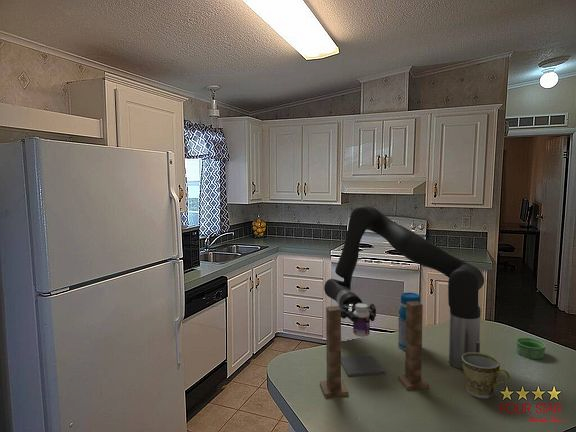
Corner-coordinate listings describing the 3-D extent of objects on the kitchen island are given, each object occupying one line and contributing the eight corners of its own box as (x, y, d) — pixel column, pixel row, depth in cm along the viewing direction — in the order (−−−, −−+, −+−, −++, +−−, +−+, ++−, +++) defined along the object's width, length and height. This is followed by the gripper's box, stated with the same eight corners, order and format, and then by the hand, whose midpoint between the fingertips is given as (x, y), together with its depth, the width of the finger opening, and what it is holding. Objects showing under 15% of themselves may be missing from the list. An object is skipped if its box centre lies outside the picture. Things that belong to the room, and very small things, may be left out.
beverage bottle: (398, 351, 141) (399, 297, 139) (397, 341, 149) (397, 290, 147) (423, 353, 139) (424, 299, 137) (420, 343, 147) (421, 292, 145)
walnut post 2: (418, 376, 123) (420, 299, 121) (429, 388, 116) (431, 306, 114) (397, 378, 122) (398, 300, 120) (407, 390, 115) (408, 307, 113)
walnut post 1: (342, 383, 120) (341, 303, 118) (348, 395, 113) (348, 311, 111) (319, 385, 119) (319, 305, 117) (325, 397, 112) (324, 313, 110)
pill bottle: (369, 337, 125) (369, 308, 124) (352, 336, 126) (352, 307, 125) (369, 331, 130) (369, 302, 129) (353, 329, 132) (353, 302, 130)
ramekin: (539, 363, 131) (540, 350, 131) (511, 353, 138) (511, 342, 137) (549, 355, 137) (550, 343, 136) (521, 346, 144) (521, 335, 143)
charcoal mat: (371, 356, 137) (371, 354, 137) (384, 373, 125) (384, 371, 125) (338, 359, 136) (338, 357, 136) (348, 376, 124) (348, 374, 124)
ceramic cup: (454, 391, 115) (454, 358, 114) (471, 379, 121) (472, 349, 120) (499, 411, 104) (501, 376, 103) (516, 398, 110) (517, 364, 109)
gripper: (329, 293, 140) (342, 309, 124) (368, 290, 142) (385, 306, 126) (329, 313, 141) (342, 331, 125) (367, 310, 143) (385, 328, 126)
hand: (364, 318), depth 125 cm, fingers closed on pill bottle, 5 cm apart
